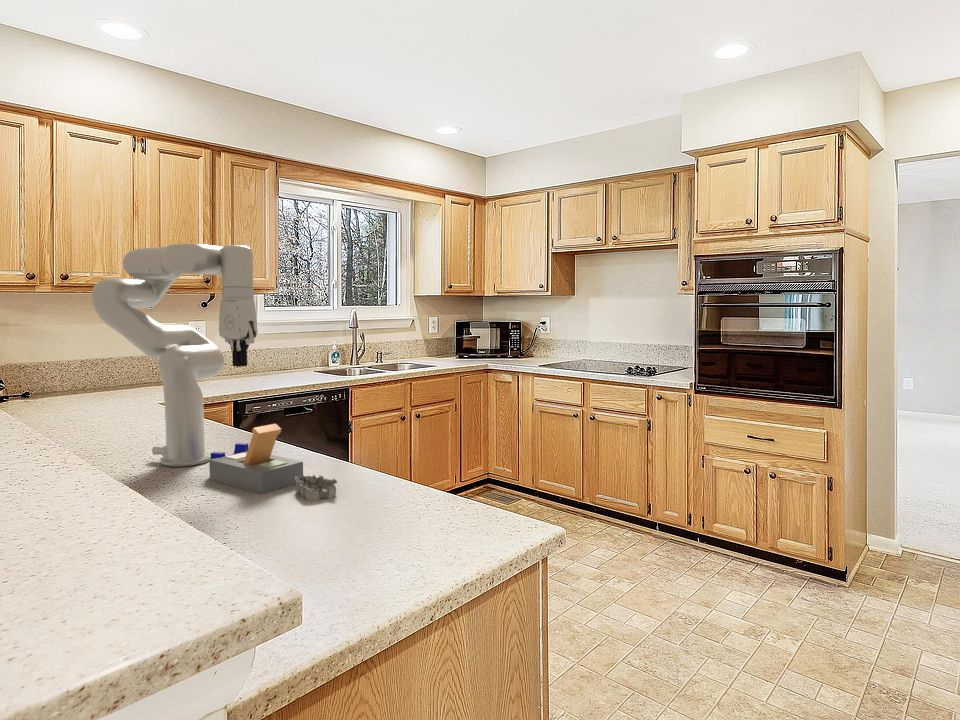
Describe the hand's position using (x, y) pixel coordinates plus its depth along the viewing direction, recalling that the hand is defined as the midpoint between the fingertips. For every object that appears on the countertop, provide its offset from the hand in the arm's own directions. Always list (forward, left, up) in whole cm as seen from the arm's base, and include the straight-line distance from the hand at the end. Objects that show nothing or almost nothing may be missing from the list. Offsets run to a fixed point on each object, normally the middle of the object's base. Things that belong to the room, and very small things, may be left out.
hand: (240, 365), depth 162 cm
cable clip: (-3, -1, -28) cm, 28 cm away
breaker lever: (+6, -10, -24) cm, 27 cm away
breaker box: (+7, -11, -27) cm, 30 cm away
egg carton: (+24, -21, -28) cm, 42 cm away
